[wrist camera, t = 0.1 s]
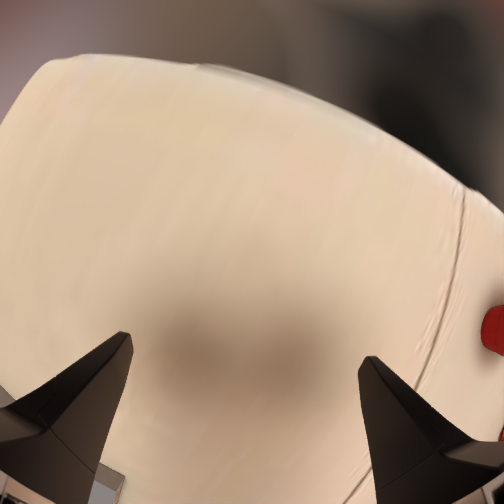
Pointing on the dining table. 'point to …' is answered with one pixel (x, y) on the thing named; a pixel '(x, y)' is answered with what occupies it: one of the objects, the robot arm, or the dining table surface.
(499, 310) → the plastic cup
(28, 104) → the dining table surface
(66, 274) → the dining table surface
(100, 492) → the tile board
